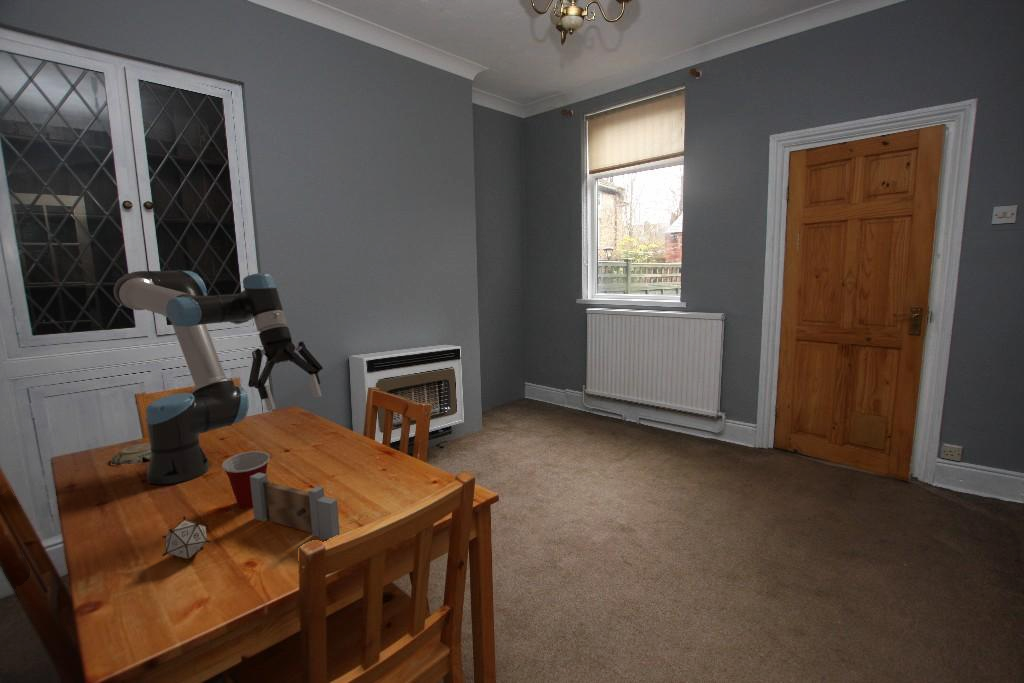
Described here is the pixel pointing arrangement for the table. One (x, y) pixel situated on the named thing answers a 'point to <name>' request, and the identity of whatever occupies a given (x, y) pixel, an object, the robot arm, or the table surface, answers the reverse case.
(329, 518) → the grey upright posts
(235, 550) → the table surface
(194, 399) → the robot arm
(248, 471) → the plastic cup
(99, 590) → the table surface
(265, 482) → the door
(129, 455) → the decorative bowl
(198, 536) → the game die
